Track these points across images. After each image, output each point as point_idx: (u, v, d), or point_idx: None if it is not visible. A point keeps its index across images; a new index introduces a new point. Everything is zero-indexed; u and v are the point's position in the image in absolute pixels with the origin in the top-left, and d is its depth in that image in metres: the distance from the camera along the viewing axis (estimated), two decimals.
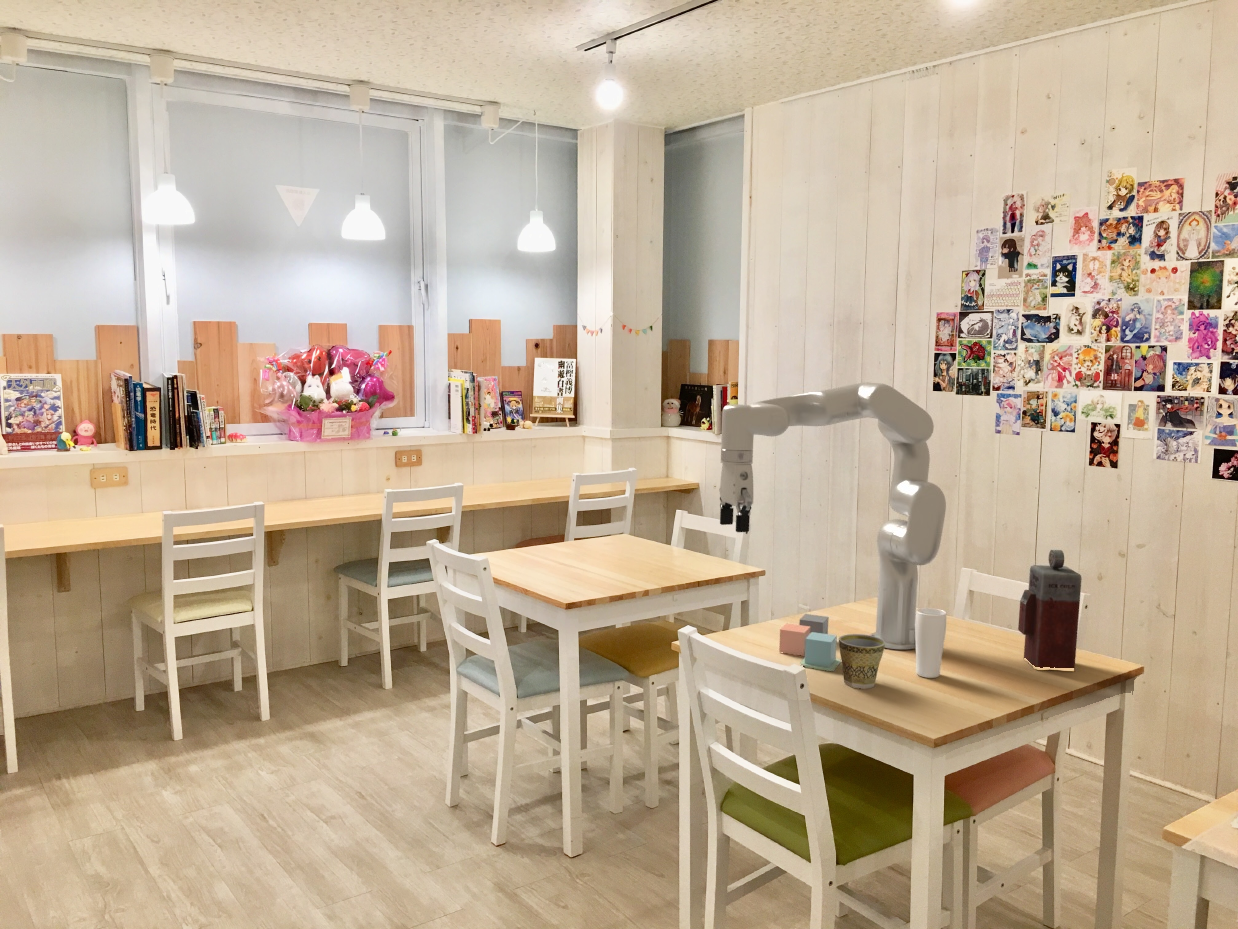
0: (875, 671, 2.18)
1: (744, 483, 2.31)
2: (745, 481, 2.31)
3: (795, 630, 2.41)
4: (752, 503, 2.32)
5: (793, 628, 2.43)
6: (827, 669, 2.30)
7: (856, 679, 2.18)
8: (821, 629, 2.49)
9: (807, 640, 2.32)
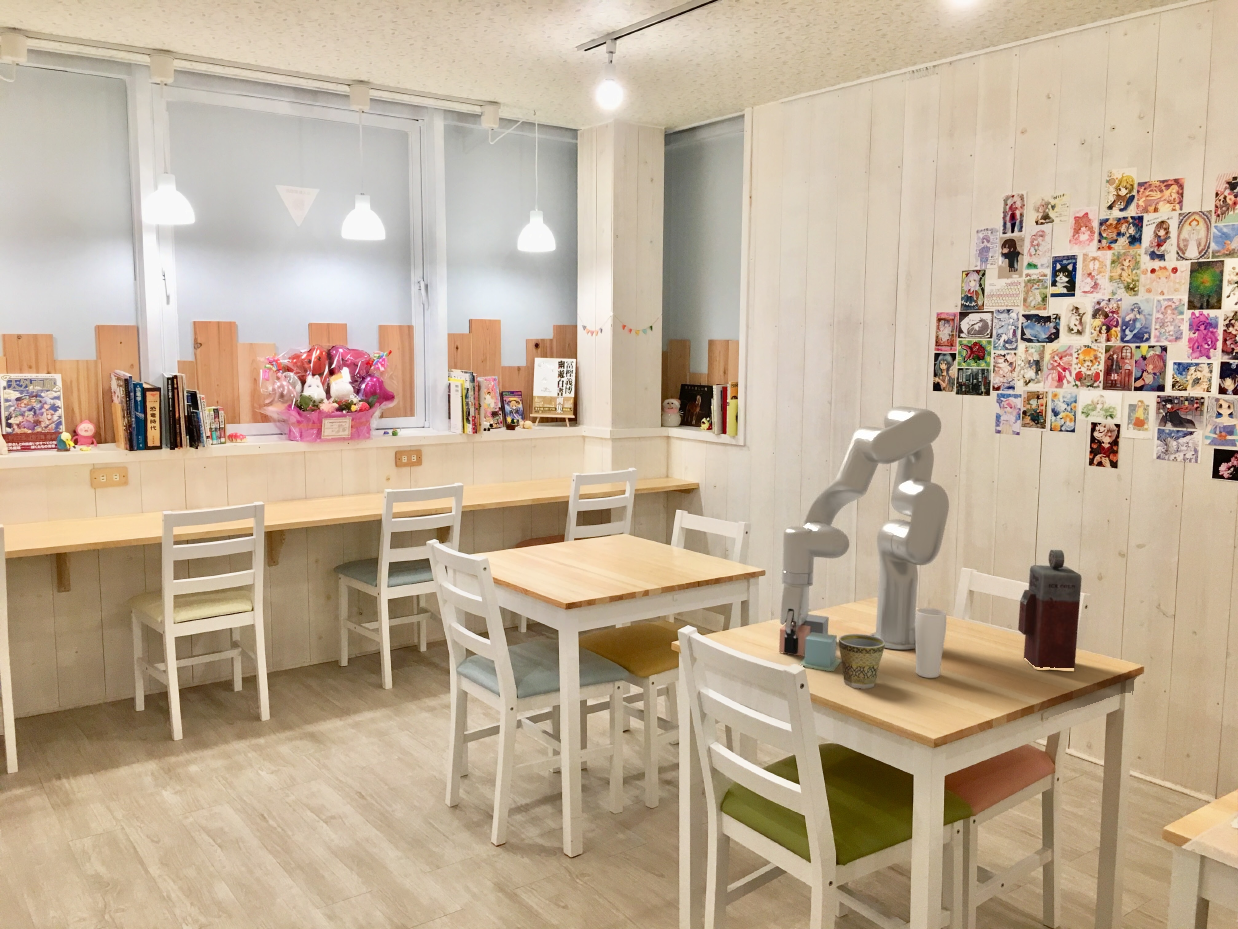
0: (875, 671, 2.18)
1: None
2: None
3: None
4: None
5: None
6: (827, 669, 2.30)
7: (856, 679, 2.18)
8: (821, 629, 2.49)
9: (807, 640, 2.32)
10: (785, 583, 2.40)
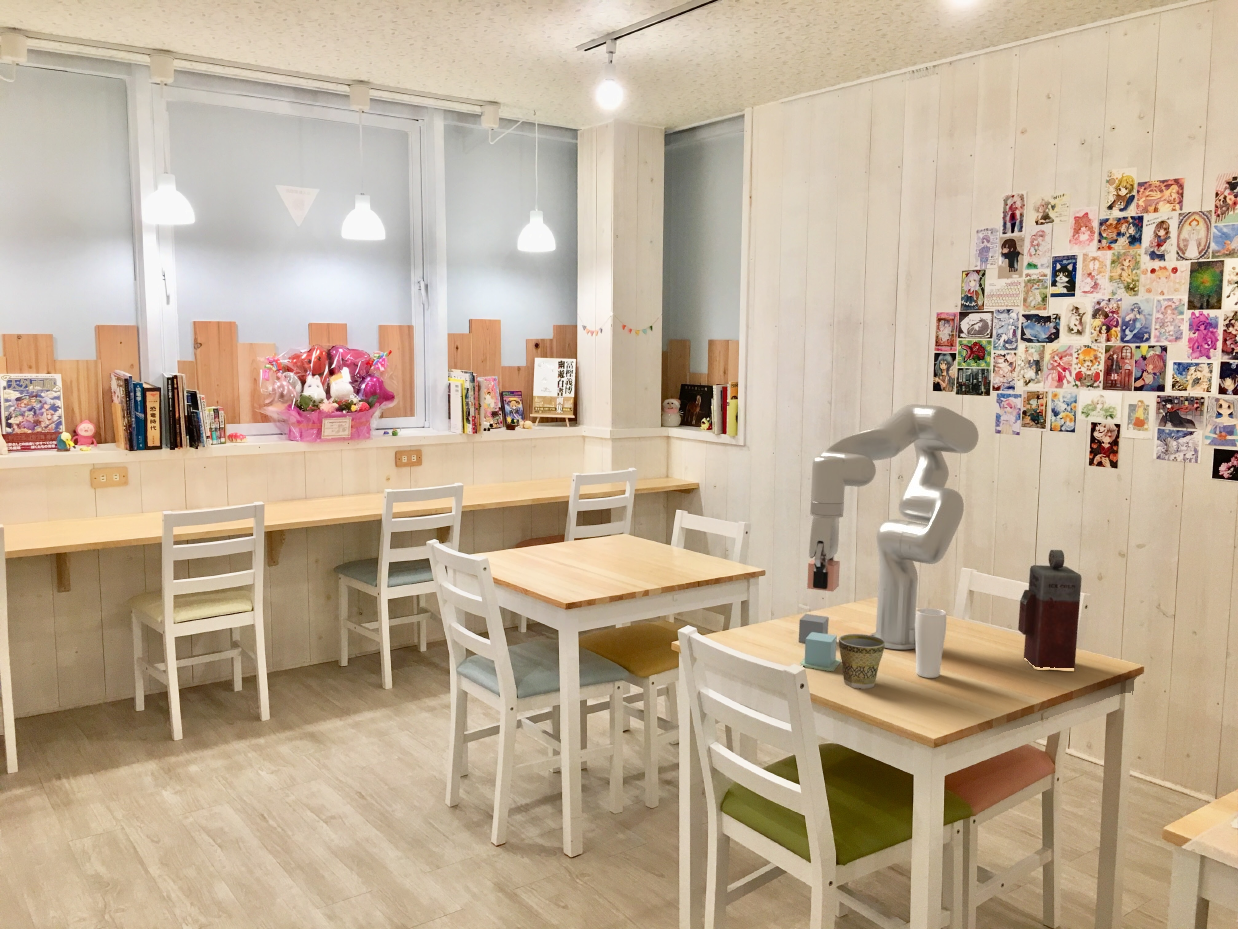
0: (875, 671, 2.18)
1: None
2: None
3: None
4: None
5: None
6: (827, 669, 2.30)
7: (856, 679, 2.18)
8: (821, 629, 2.49)
9: (807, 640, 2.32)
10: (814, 514, 2.28)
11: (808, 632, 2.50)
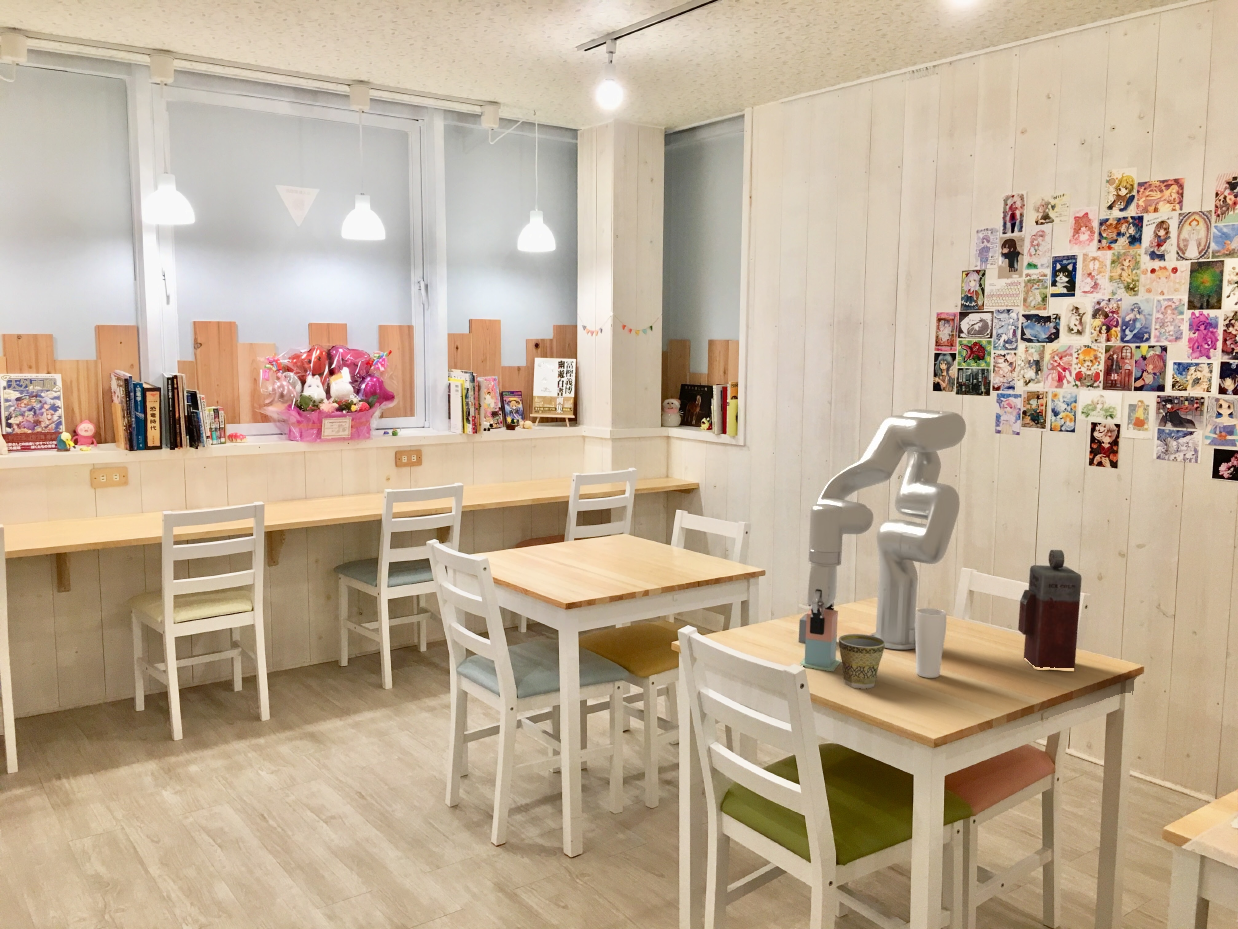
0: (875, 671, 2.18)
1: None
2: None
3: None
4: None
5: None
6: (827, 669, 2.30)
7: (856, 679, 2.18)
8: None
9: (807, 640, 2.32)
10: (812, 562, 2.30)
11: None
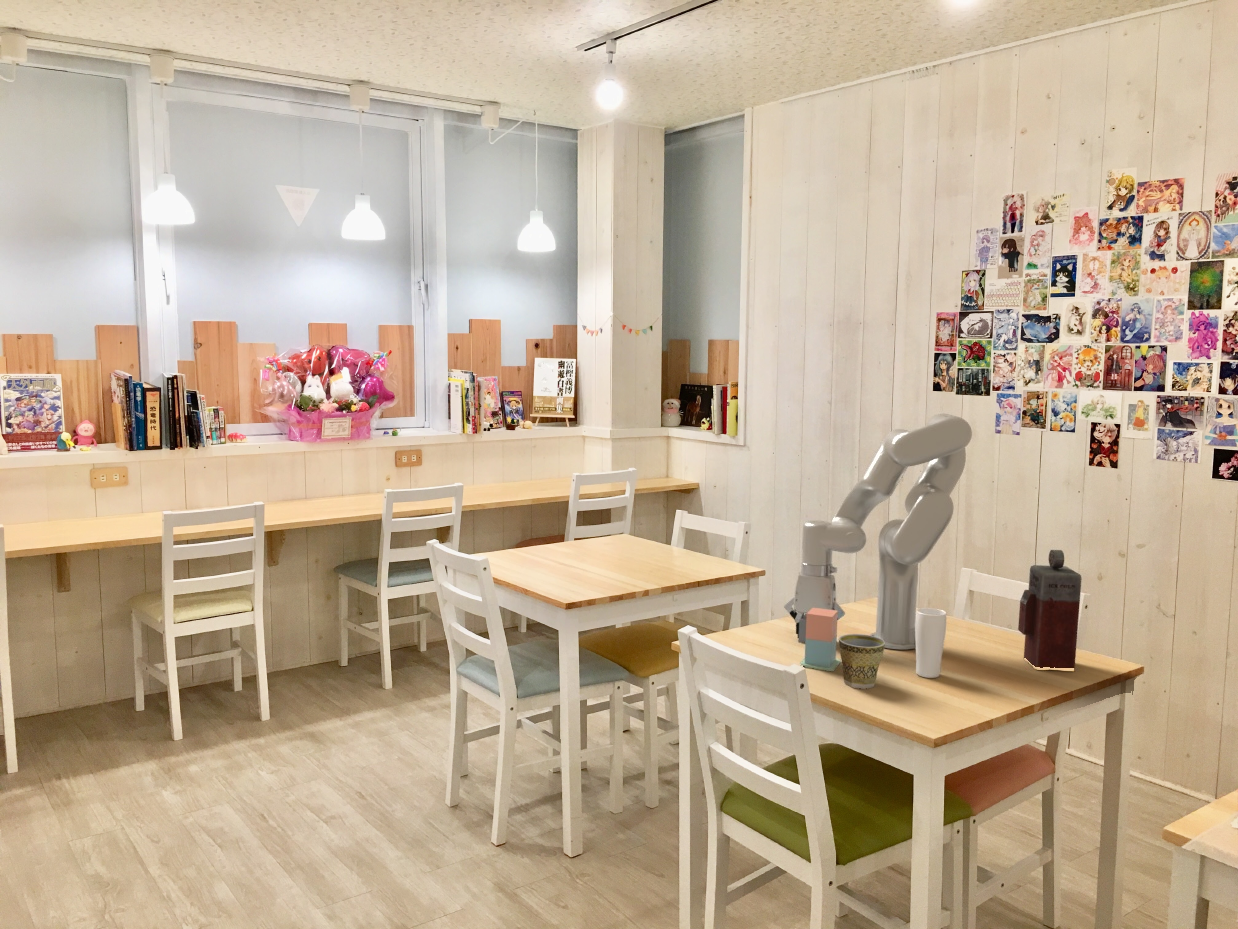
0: (875, 671, 2.18)
1: (834, 593, 2.50)
2: (835, 591, 2.50)
3: (822, 614, 2.31)
4: None
5: (819, 612, 2.33)
6: (827, 669, 2.30)
7: (856, 679, 2.18)
8: None
9: (807, 640, 2.32)
10: None
11: None
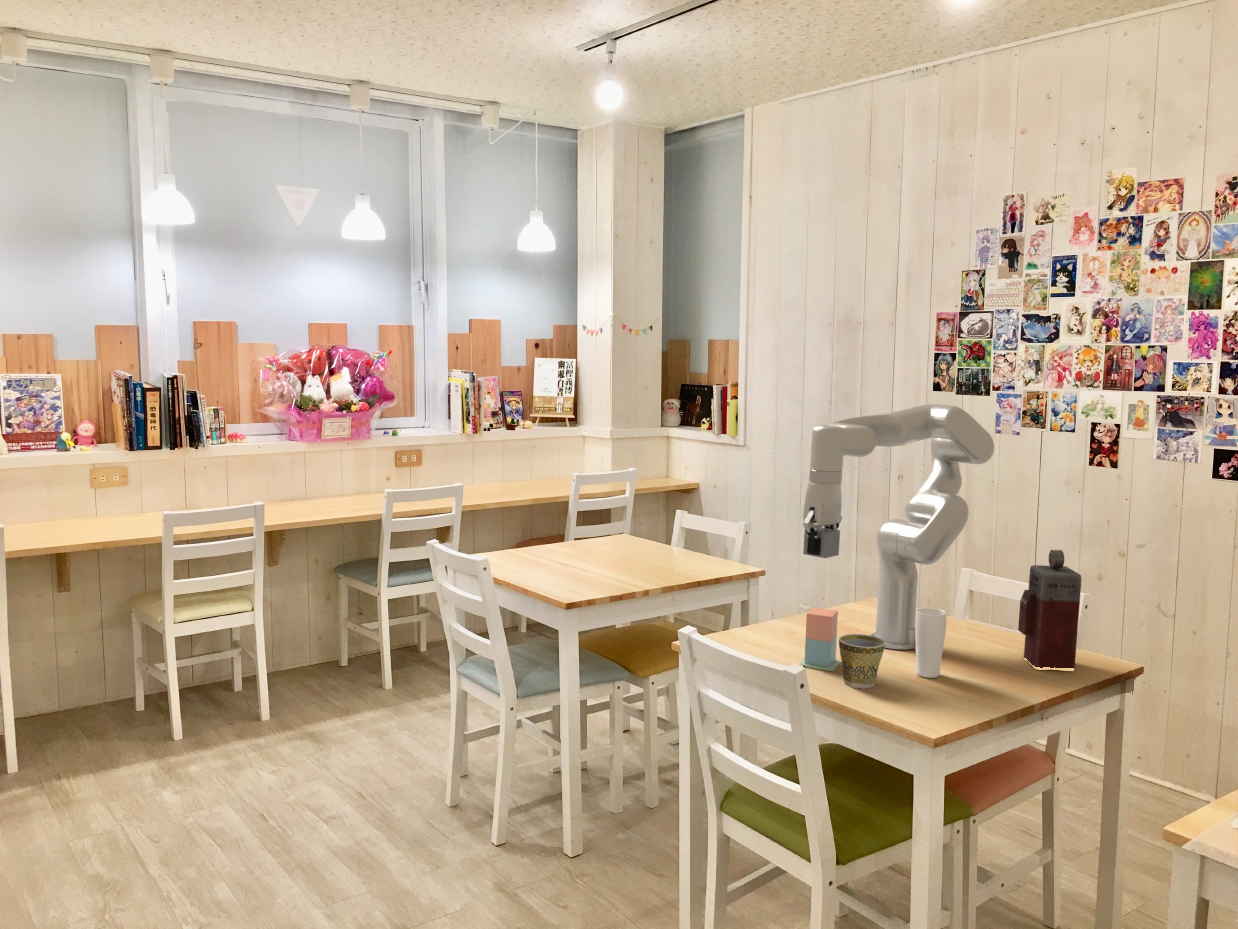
0: (875, 671, 2.18)
1: None
2: None
3: (822, 614, 2.31)
4: None
5: (819, 612, 2.33)
6: (827, 669, 2.30)
7: (856, 679, 2.18)
8: (838, 538, 2.36)
9: (807, 640, 2.32)
10: (810, 481, 2.34)
11: (831, 545, 2.34)
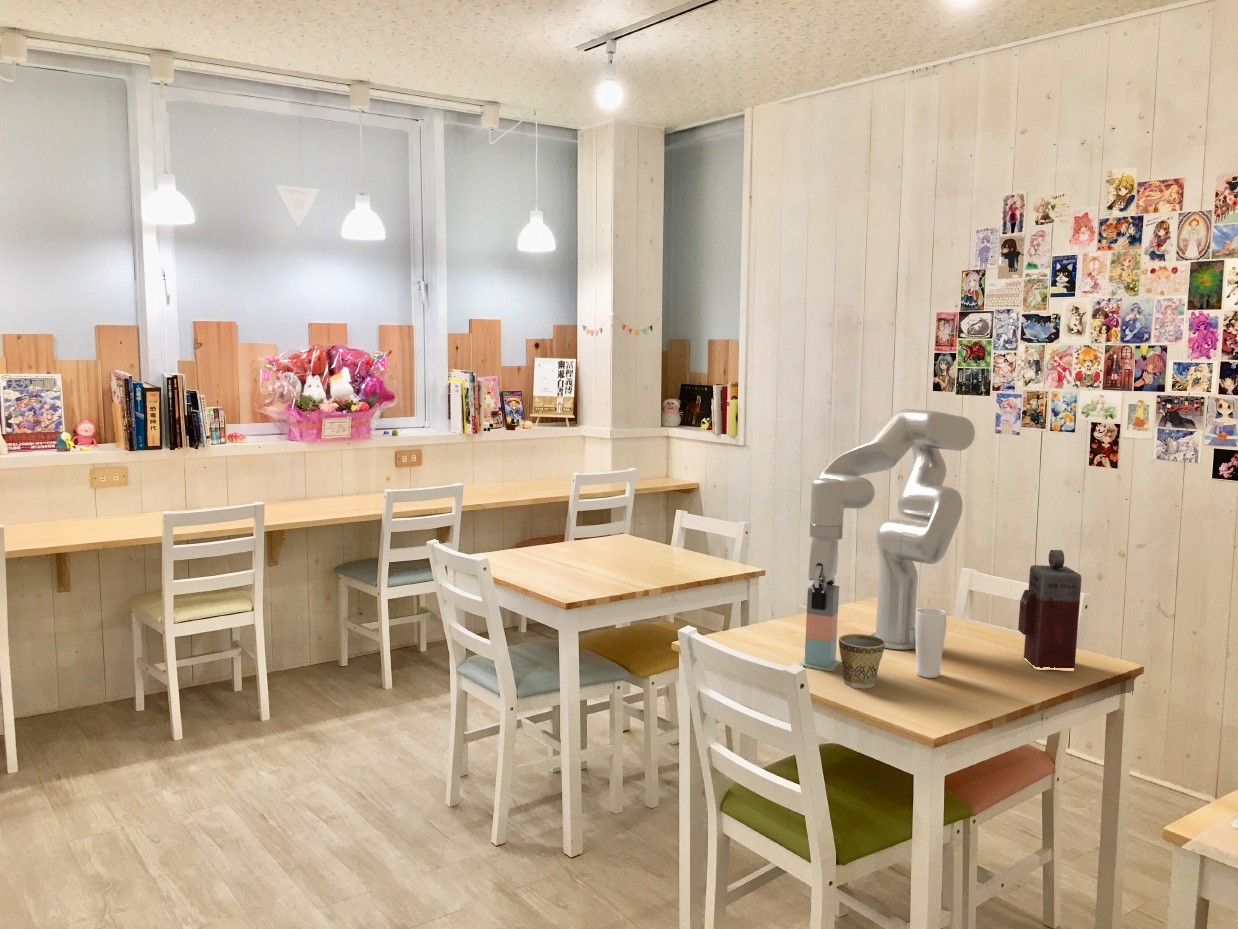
0: (875, 671, 2.18)
1: None
2: None
3: None
4: None
5: None
6: (827, 669, 2.30)
7: (856, 679, 2.18)
8: (838, 593, 2.34)
9: (807, 640, 2.32)
10: (813, 537, 2.29)
11: (835, 602, 2.31)
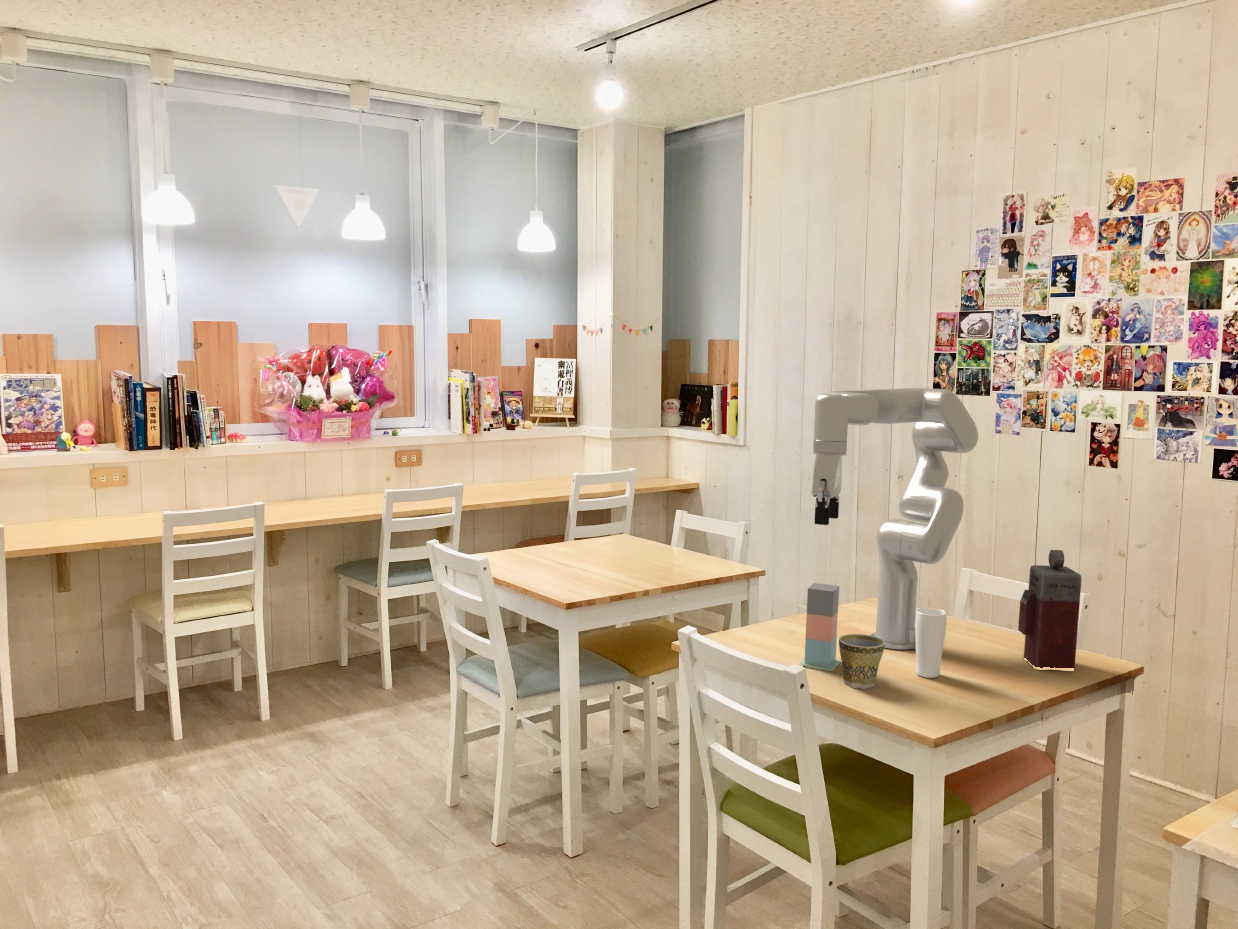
0: (875, 671, 2.18)
1: None
2: None
3: None
4: None
5: None
6: (827, 669, 2.30)
7: (856, 679, 2.18)
8: (838, 593, 2.34)
9: (807, 640, 2.32)
10: (817, 452, 2.27)
11: (835, 602, 2.31)
